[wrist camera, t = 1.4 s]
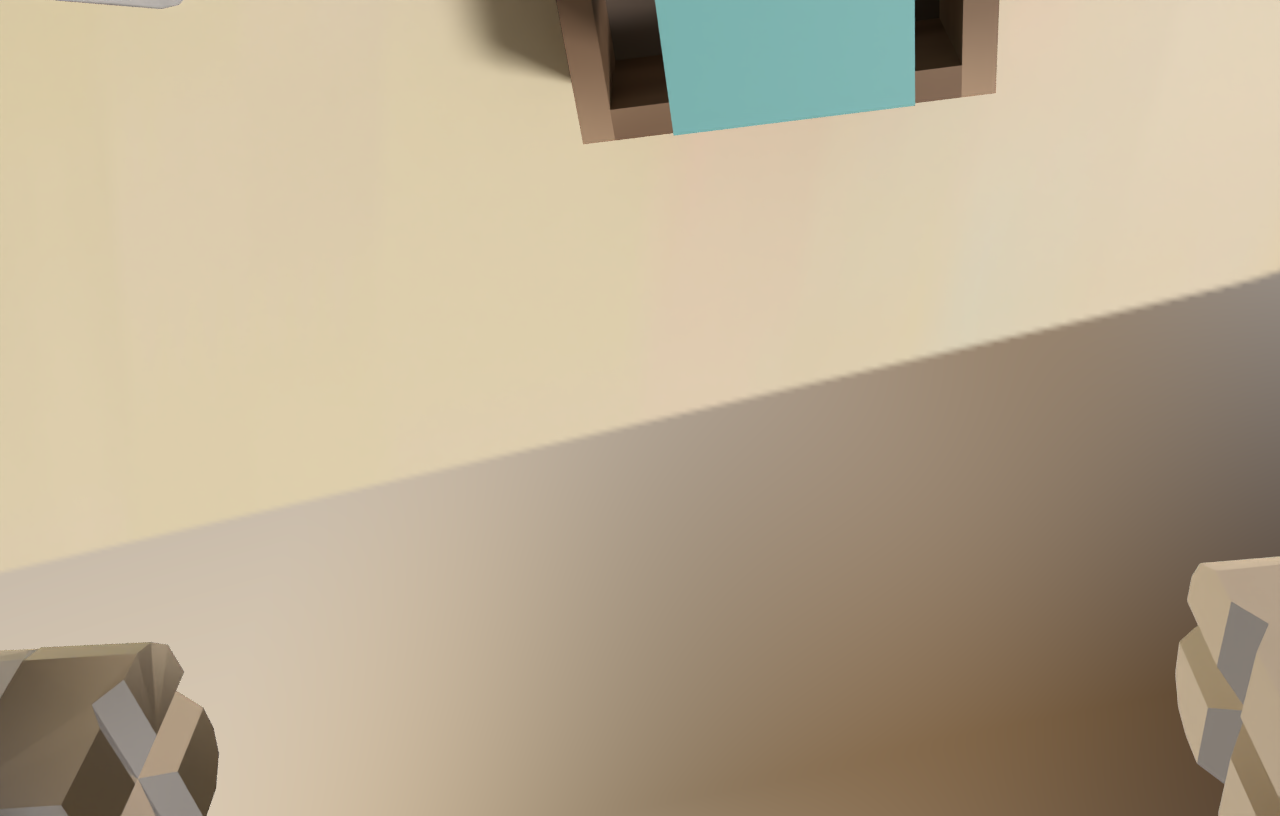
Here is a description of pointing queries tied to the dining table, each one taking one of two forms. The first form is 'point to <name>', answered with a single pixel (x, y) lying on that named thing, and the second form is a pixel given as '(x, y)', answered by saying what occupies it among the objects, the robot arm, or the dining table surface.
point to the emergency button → (134, 3)
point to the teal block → (784, 59)
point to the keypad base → (635, 76)
